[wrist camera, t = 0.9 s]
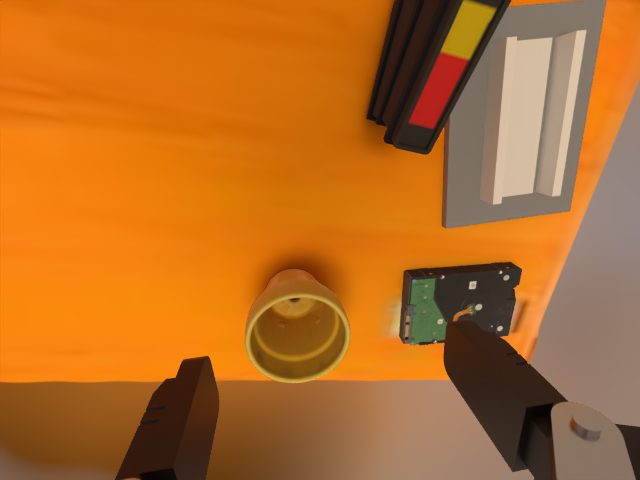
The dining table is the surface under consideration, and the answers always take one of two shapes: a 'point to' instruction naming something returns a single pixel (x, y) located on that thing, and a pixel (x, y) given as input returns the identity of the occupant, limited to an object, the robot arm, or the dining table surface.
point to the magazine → (429, 66)
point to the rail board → (522, 116)
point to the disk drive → (457, 300)
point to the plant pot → (296, 329)
